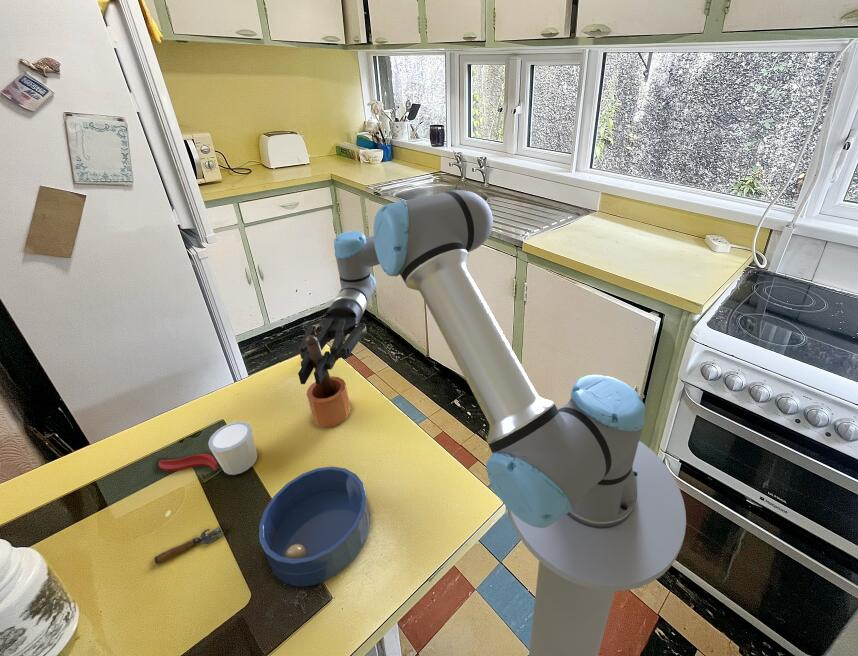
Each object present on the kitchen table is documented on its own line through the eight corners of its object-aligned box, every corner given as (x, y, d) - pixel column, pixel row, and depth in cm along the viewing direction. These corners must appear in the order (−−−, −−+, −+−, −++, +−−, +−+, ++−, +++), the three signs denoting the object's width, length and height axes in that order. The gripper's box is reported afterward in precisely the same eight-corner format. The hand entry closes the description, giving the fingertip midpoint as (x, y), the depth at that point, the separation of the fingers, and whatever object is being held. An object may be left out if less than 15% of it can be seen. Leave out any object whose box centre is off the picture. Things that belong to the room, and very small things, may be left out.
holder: (356, 402, 92) (351, 378, 88) (339, 429, 85) (334, 404, 82) (324, 398, 93) (318, 374, 89) (305, 424, 86) (299, 399, 83)
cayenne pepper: (226, 460, 78) (223, 453, 77) (205, 482, 74) (201, 475, 73) (175, 447, 80) (172, 440, 80) (152, 467, 76) (148, 460, 76)
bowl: (384, 496, 72) (380, 473, 69) (343, 595, 58) (336, 571, 56) (304, 483, 74) (297, 461, 71) (246, 577, 60) (235, 553, 58)
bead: (309, 543, 61) (302, 568, 59) (308, 546, 63) (301, 570, 61) (288, 541, 61) (280, 566, 59) (288, 544, 63) (280, 568, 61)
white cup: (210, 472, 76) (198, 446, 72) (240, 443, 81) (230, 417, 78) (240, 482, 74) (229, 455, 71) (269, 451, 80) (260, 425, 77)
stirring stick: (340, 400, 90) (318, 333, 78) (335, 408, 88) (312, 342, 77) (330, 398, 90) (308, 332, 79) (325, 407, 89) (301, 340, 77)
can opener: (156, 566, 62) (153, 561, 61) (158, 551, 63) (156, 547, 63) (225, 537, 65) (223, 533, 65) (226, 524, 67) (224, 520, 67)
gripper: (380, 324, 100) (352, 393, 79) (317, 324, 100) (272, 394, 79) (376, 297, 97) (347, 362, 76) (311, 297, 96) (263, 363, 75)
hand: (309, 378), depth 77 cm, fingers closed on stirring stick, 2 cm apart
